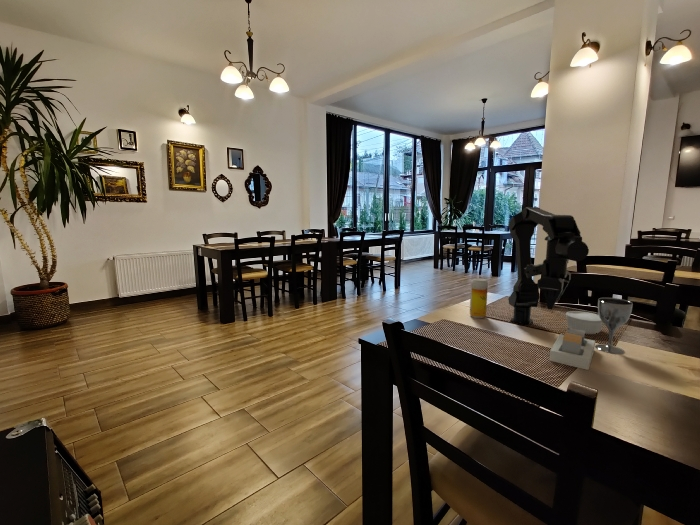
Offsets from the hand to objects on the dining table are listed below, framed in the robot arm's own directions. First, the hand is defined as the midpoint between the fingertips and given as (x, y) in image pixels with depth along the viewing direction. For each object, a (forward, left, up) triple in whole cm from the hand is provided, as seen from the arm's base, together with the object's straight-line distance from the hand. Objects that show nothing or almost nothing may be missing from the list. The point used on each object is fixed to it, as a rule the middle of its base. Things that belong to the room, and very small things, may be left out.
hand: (552, 305), depth 105 cm
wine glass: (-5, +15, -12) cm, 20 cm away
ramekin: (-20, +7, -12) cm, 25 cm away
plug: (+11, +7, -11) cm, 17 cm away
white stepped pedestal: (+7, +7, -12) cm, 16 cm away
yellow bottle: (-12, -27, -12) cm, 32 cm away
